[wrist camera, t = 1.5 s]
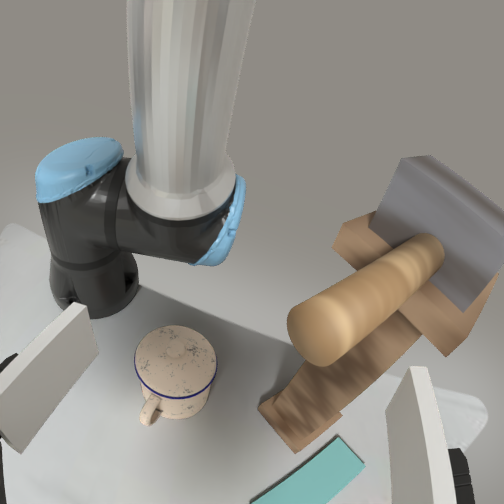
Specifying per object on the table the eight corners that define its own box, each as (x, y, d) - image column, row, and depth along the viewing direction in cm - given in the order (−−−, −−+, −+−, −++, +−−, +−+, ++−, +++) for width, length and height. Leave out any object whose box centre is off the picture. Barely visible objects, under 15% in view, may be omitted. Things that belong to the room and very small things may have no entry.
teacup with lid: (162, 349, 42) (161, 297, 34) (221, 379, 41) (235, 333, 33) (116, 415, 33) (97, 378, 26) (180, 452, 32) (181, 429, 24)
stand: (246, 407, 38) (343, 223, 19) (301, 371, 44) (410, 197, 24) (294, 463, 33) (467, 337, 14) (345, 421, 39) (498, 273, 19)
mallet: (369, 431, 9) (465, 360, 6) (237, 282, 13) (265, 178, 10) (481, 281, 18) (521, 226, 14) (402, 212, 22) (430, 155, 19)
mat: (248, 504, 28) (249, 504, 28) (336, 438, 37) (338, 437, 36) (279, 538, 25) (281, 538, 25) (363, 467, 34) (365, 466, 33)
